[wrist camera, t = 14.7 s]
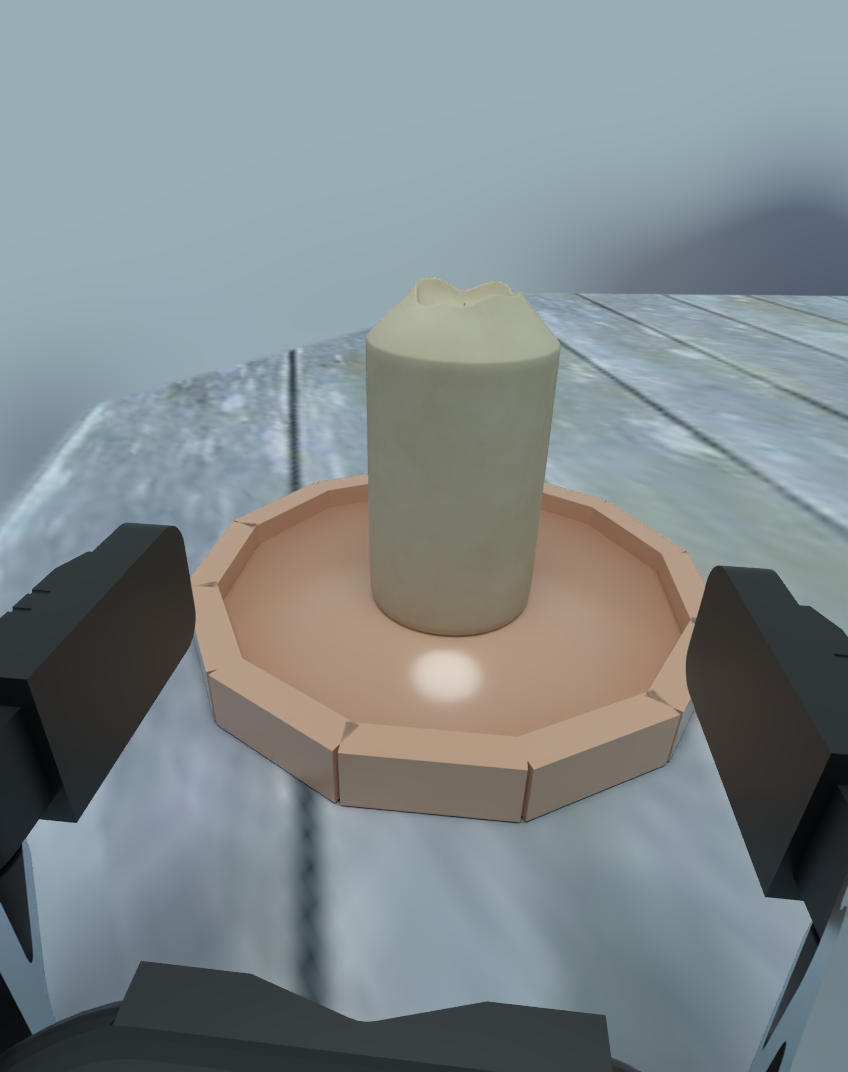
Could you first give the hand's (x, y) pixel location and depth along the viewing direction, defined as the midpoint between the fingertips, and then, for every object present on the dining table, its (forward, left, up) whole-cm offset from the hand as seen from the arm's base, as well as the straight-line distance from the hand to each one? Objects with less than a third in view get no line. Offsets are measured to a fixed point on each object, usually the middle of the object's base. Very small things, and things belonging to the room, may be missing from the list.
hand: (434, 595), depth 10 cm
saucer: (-5, -9, -8) cm, 13 cm away
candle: (-5, -9, -7) cm, 13 cm away
